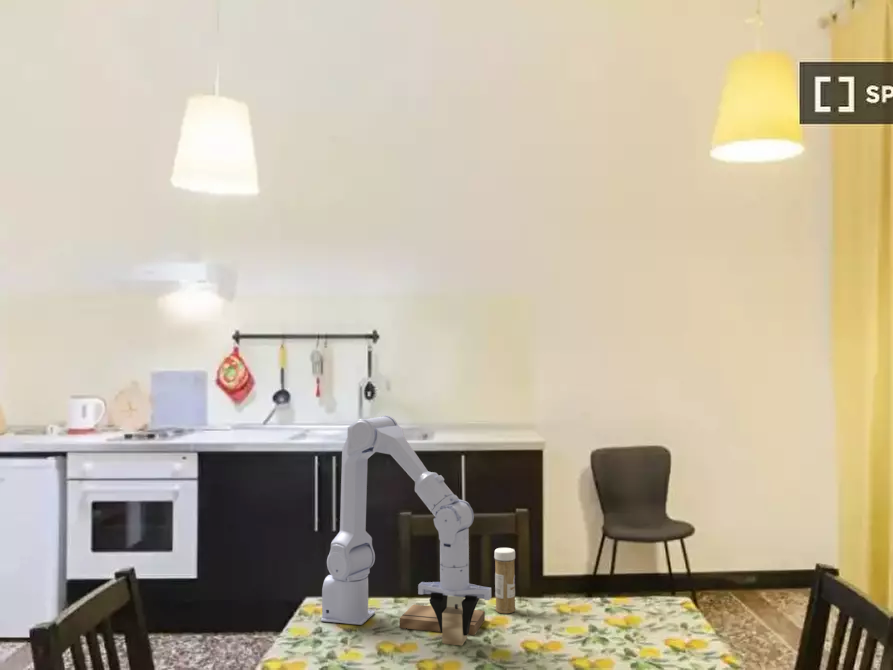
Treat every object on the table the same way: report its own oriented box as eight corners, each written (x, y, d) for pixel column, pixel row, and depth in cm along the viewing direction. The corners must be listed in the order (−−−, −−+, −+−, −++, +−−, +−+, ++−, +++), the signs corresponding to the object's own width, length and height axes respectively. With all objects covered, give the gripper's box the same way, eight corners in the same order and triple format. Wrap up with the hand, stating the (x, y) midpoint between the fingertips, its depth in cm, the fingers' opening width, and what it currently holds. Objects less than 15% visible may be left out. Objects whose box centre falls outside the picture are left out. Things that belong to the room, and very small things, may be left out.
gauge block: (442, 643, 156) (442, 608, 156) (447, 636, 160) (447, 602, 160) (462, 645, 155) (461, 610, 155) (467, 638, 158) (466, 604, 159)
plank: (399, 627, 164) (399, 617, 165) (413, 613, 173) (413, 604, 173) (474, 635, 160) (474, 624, 160) (484, 620, 169) (484, 610, 169)
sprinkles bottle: (517, 613, 173) (517, 551, 173) (497, 614, 172) (496, 552, 172) (513, 606, 177) (512, 546, 177) (493, 608, 177) (492, 547, 177)
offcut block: (444, 615, 166) (444, 596, 166) (445, 609, 170) (444, 590, 170) (463, 615, 166) (463, 596, 166) (463, 608, 170) (463, 590, 170)
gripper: (413, 566, 155) (413, 636, 155) (485, 572, 151) (486, 643, 151) (424, 557, 162) (424, 624, 162) (493, 562, 158) (494, 630, 158)
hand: (454, 632), depth 157 cm, fingers closed on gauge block, 4 cm apart
